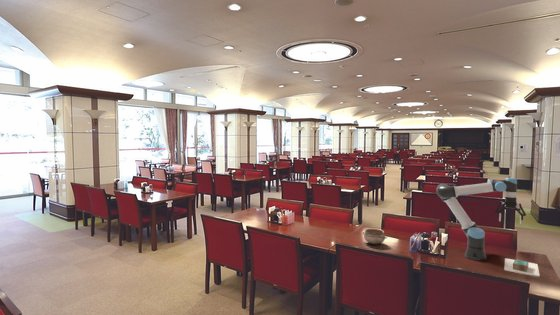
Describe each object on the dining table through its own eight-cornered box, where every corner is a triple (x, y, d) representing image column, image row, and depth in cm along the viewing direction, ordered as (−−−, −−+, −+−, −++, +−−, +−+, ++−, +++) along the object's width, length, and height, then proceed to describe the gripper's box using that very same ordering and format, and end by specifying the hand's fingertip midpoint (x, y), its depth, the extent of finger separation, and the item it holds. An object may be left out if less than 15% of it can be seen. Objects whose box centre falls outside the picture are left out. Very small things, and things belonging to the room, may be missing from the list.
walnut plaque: (514, 264, 236) (512, 269, 227) (515, 259, 236) (513, 263, 227) (528, 267, 230) (526, 272, 221) (528, 261, 230) (526, 266, 221)
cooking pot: (391, 244, 286) (391, 231, 285) (382, 249, 272) (382, 235, 271) (366, 238, 303) (366, 226, 302) (357, 243, 289) (357, 230, 289)
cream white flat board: (539, 277, 214) (539, 276, 214) (504, 270, 227) (504, 269, 227) (537, 265, 237) (537, 264, 237) (505, 259, 249) (505, 258, 249)
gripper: (530, 197, 246) (529, 224, 247) (493, 194, 263) (492, 219, 264) (530, 199, 241) (529, 226, 242) (491, 195, 258) (491, 220, 258)
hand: (510, 222), depth 253 cm, fingers open, 13 cm apart
